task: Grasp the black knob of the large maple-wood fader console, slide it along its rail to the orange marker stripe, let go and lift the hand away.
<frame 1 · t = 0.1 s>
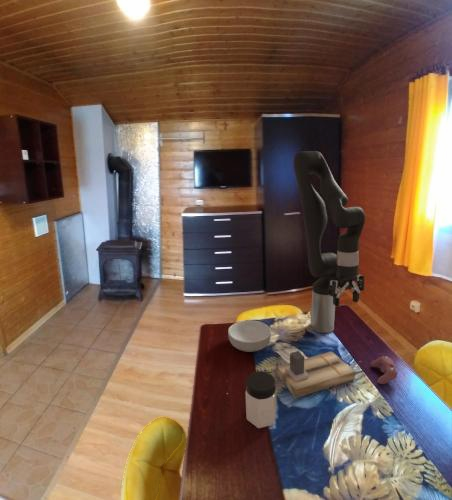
hand: (345, 303, 114), 17 cm above the table, tool pointing down, fingers open, 8 cm apart
console: (314, 376, 101), on the table
jar: (261, 416, 87), on the table
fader: (296, 364, 97), point 7 cm above the table, slide at -7.0 cm
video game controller: (383, 376, 100), on the table
cereal bowl: (249, 346, 120), on the table
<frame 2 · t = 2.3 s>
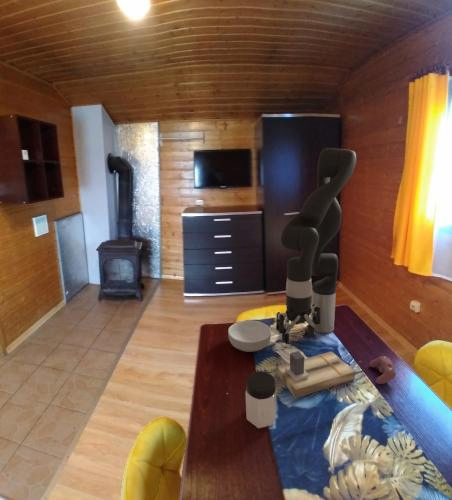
hand: (298, 339, 95), 16 cm above the table, tool pointing down, fingers open, 8 cm apart
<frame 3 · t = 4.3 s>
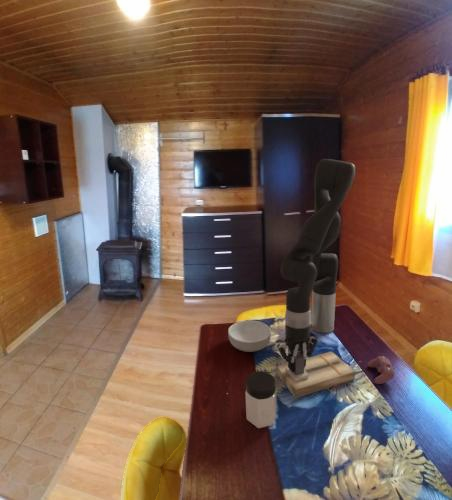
hand: (296, 368, 98), 5 cm above the table, tool pointing down, fingers closed on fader, 3 cm apart
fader: (297, 364, 97), point 7 cm above the table, slide at -7.0 cm, touching gripper
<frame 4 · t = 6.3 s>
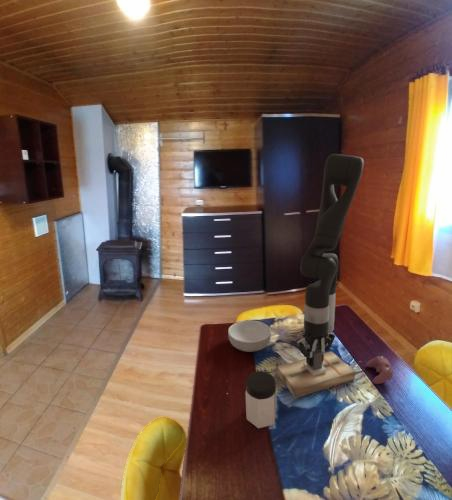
hand: (314, 363, 100), 5 cm above the table, tool pointing down, fingers closed on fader, 3 cm apart
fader: (314, 359, 99), point 7 cm above the table, slide at -0.2 cm, touching gripper
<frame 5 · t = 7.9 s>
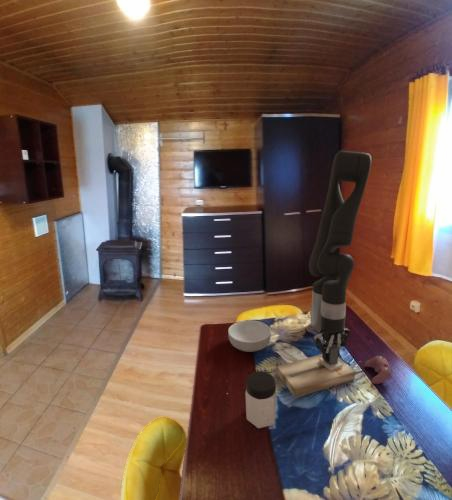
hand: (330, 359, 102), 5 cm above the table, tool pointing down, fingers closed on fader, 3 cm apart
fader: (330, 354, 101), point 7 cm above the table, slide at 6.0 cm, touching gripper
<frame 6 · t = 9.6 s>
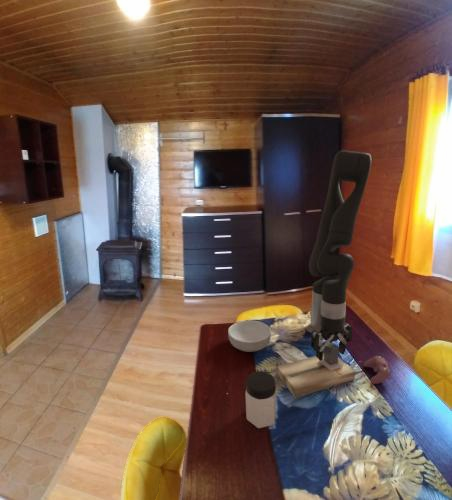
hand: (330, 356, 102), 6 cm above the table, tool pointing down, fingers open, 8 cm apart
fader: (330, 354, 101), point 7 cm above the table, slide at 6.0 cm
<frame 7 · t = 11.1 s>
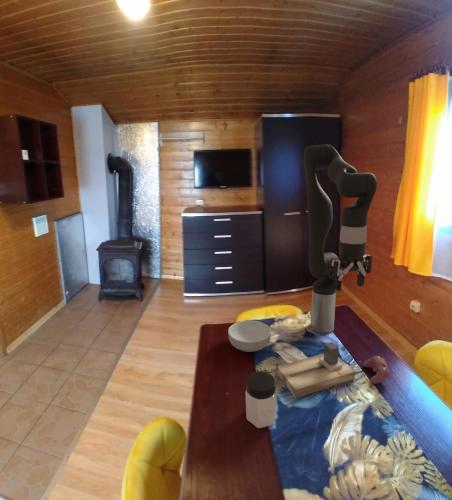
hand: (348, 288, 98), 29 cm above the table, tool pointing down, fingers open, 8 cm apart
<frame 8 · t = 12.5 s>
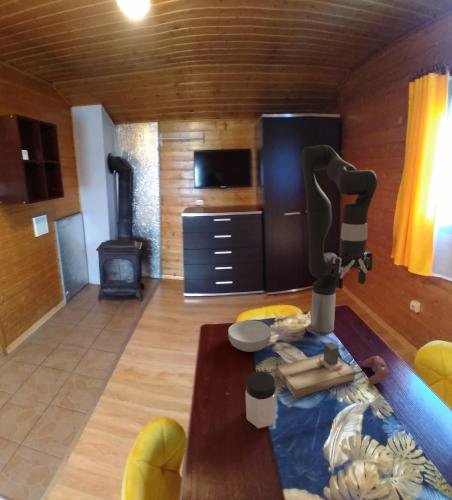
hand: (350, 285, 98), 30 cm above the table, tool pointing down, fingers open, 8 cm apart
at the end: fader slide at 6.0 cm; the gripper is holding nothing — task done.
